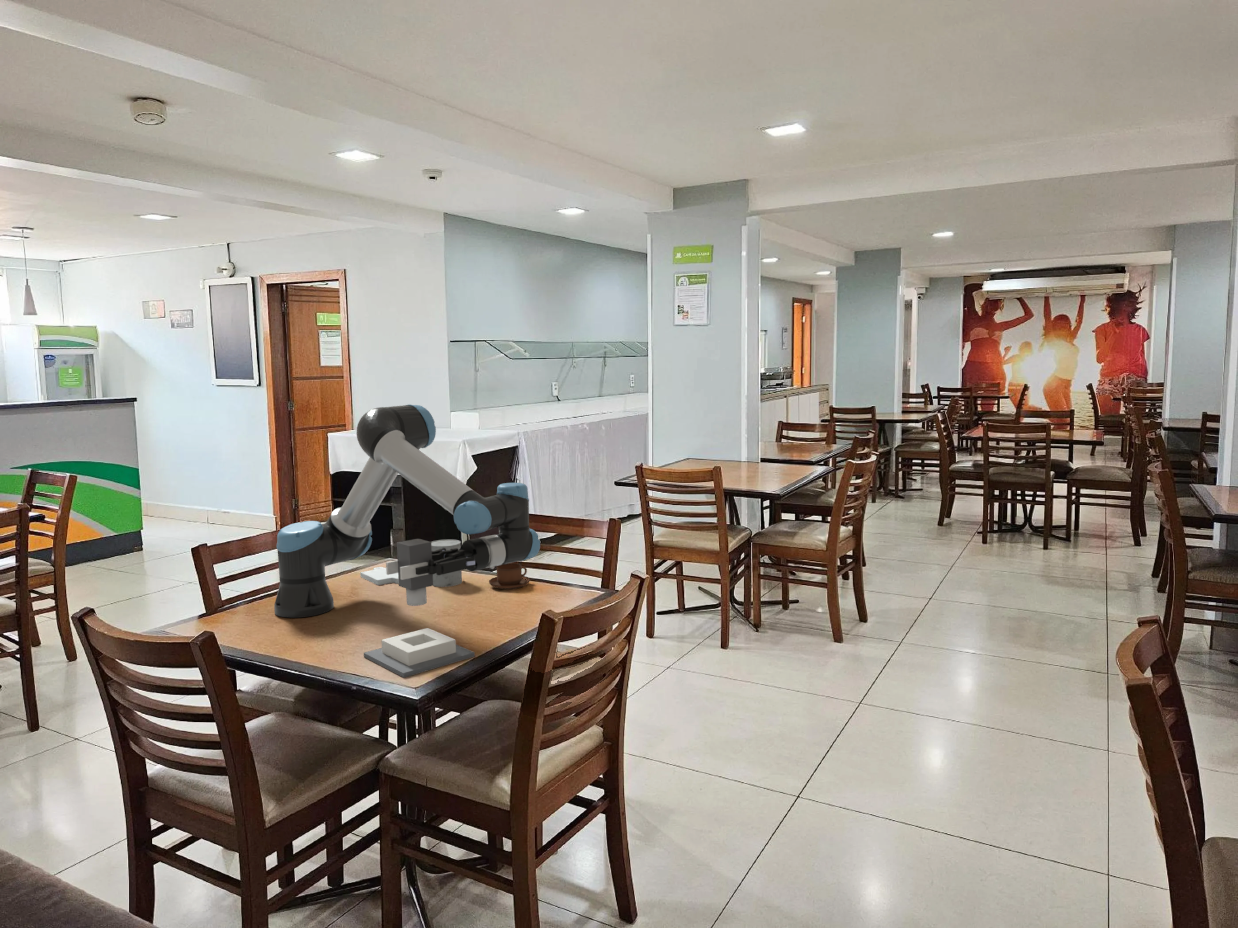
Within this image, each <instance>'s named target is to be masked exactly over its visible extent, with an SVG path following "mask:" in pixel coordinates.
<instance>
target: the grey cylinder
mask: <svg viewBox="0 0 1238 928" xmlns="http://www.w3.org/2000/svg"><path fill="white" fill-rule="evenodd" d="M430 542H431V549H432V551H435V550H439V549H442V548H445V549H446V550H450V549H454V548H458V550H459V549H460V548H461V546H462V544H461V543H462V541H461V540H458V539H453V538H452V539H446V538H445V539H438V540H433V541H430ZM462 571H463V570H460V571H456V572H451V573H447V574H442V575H436V573H435V574H433V586H432V587H436V588H437V587H438V588H445V587H447V588H450V587H454V586H458V585H460V584H462V583H463V577H462V575H463V572H462Z"/></svg>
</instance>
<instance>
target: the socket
mask: <svg viewBox="0 0 1238 928" xmlns="http://www.w3.org/2000/svg"><path fill="white" fill-rule="evenodd" d="M456 640H457V639H455V638H452V637H450V636H448V635H445V634H443V633H441V632H439V631H436V630H433V629H431V628H428V627H426V628H422V629H418V630H415V631H411V632H406V633H403V634H399V635H396V636H392V637H391V636H390V637H387V638H384V639H381V648H377V649H373V650H369V651H365V652H363V658H365V659H367V660H369V661H371V662H372V663H375V664H377V665H378V666H381V667H383V668H384V669H386V670H388V671H390V672H392V673H394V674H396V675H397V676H399V677H401V678H407V677H411V676H414V675H417V674H420V673H424V672H427V671H431V670H434V669H437V668H442V667H444V666H447V665H451V664H454V663H457V662H460V661H464V660H467V659H471V658H474V657H476V656H475V653H476V652H475V651H473V650H470V649H468V648H466V647H463V646H461V645H459V644H457V641H456Z"/></svg>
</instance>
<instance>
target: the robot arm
mask: <svg viewBox="0 0 1238 928" xmlns="http://www.w3.org/2000/svg"><path fill="white" fill-rule="evenodd" d="M436 434H437V429H436V423H435V419H434V417H433V415H432V413H431V412H430V411H429V410H428V409H427V407H424V406H423V405H418V404H410V403H409V404H408V403H407V404H405V405H394V406H393V405H392V406H385V407H384V406H381V407H376V408H371V409H370V410H367V412H365V413H364V414H363V415H362V416H361V417H360V419H359V421H358V422H357V427H356V439H357V441H358V444H359V447H360V448H361V449H362V451H363V452H364V453H365V454H366V455H367V456H368V457H369V458H368V460H367V461H366V462H365V465H364V467H363V469H362V471H361V472H360V474H359V475H358V478H357V479H356V481H355V482H354V484H353V486H352V488H351V490H350V491H349V494H348V495H347V497H346V499H345V501H344V502H343V505H342V506H341V507H337V508H335V509H334V510H333V511H332V512H331V514H330V516H329V517H328V519H327V521H325V522H324V523H322V522H320V521H319V520H318V521H317V520H306V521H302V522H295V523H291V524H288V525H286V526H284V527H282V528H281V529H280V530H279V531H278V533H277V535H276V541H277V543H276V550H277V559H278V561H277V562H278V575H279V587H278V590H277V594H276V598H275V600H274V615H276V616H278V617H282V618H290V619H291V618H293V619H295V618H306V617H314V616H319V615H323V614H325V613H327V612H330V611H331V610H333V609H334V607H335V604H334V603H335V602H334V597H333V595H332V592H331V590H330V588H329V585H328V582H327V581H326V568H325V567H328V566H332V565H335V564H338V563H343V562H346V561H352V560H355V559H358V558H359V557H362V556H363V555H365V553H366V552H368V550H369V549H370V548H371V545H372V541H373V538H372V537H371V536H372V535H373V531H372V524H371V522H370V521H372V519H373V517H374V515H375V514H376V512H377V510H378V508H379V506H380V505H381V504H382V501H383V500H384V498H385V497H386V495H387V493H388V491H389V490H390V488H391V486H392V485H393V483H394V481H395V480H396V478H397V476H398V475H400V476H401V477H402V478H404V479H405V481H408V482H409V483H410V484H411V485H413V486H414V487H415V488H417V489H418V490H420V491H421V492H422V493H423V494H425V495H426V496H427V497H429V498H430V499H432V500H433V501H434V502H436V503H437V504H438V505H440V506H441V507H442V508H443V509H444V510H445V511H448V513H450V514H451V515H453V521H454V524H455V525H456V528H457V529H458V531H460V532H461V533H462V534H465V535H475V534H481V533H484V532H486V531H490V530H492V529H496V528H498V534H492V535H486V536H485V535H484V536H481V537H476V538H470V539H466V540H464V541H463V542H462V544H461V548H460V549H459V550H458V548H454V549H450V550H446V549H445V548H442V549H439V550H435V551H432V560H429V565H428V562H423V563H418V564H413V565H408V566H403V567H400V579H401V580H404V579H408V578H413V577H418V576H423V575H427V574H428V573H430V574H435V573H436V575H442V574H447V573H451V572H456V571H460V570H462V571H464V570H467V571H468V572H475V571H479V570H480V571H481V570H484V569H488V568H489V569H491V570H493V569H495V567H497V566H498V565H503V564H508V563H518V562H523V561H525V560H526V561H527V560H529V559H532V558H535V557H536V556H537V555H538V554H539V552H540V549H541V540H540V539H539V534H538V533H537V531H535V530H534V529H532V528H530V507H529V506H530V504H529V503H530V498H529V491H528V486H527V485H526V484H524V483H522V482H506V483H505V482H504V483H500V484H499V485H498V486H497V488H496V489H497V491H496V495H491V496H487V497H486V496H485V497H484V496H482V495H481V494H479V493H477V491H475V490H473V489H472V488H471V487H469V486H468V485H467V484H466V483H464V482H463V481H461V480H460V479H459V478H457V477H456V476H455V475H453V474H452V473H450V472H449V471H448V470H446V469H445V468H444V467H442V466H441V465H440V464H438V463H437V462H436V461H434V459H432V458H431V457H429V456H428V455H427V454H425V453H423V452H422V451H421V450H420V449H426V448H428V447H430V445H432V444H433V442H434V440H435V438H436ZM385 568H386V573H387V575H390V574H395V573H398V559H396V560H392V561H386V562H385Z"/></svg>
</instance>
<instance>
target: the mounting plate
mask: <svg viewBox="0 0 1238 928" xmlns="http://www.w3.org/2000/svg"><path fill="white" fill-rule="evenodd" d="M359 575H360V578H362V579H364V580H366V581H368V582H370V583H373V584H374V585H376V586H381V585H386V584H393V583H394V584H397V585H399V578H398V573H395V574H390V575H387V573H386V567H383V566H377V567H373V569H370V570H365V571H361V572H360V574H359Z"/></svg>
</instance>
